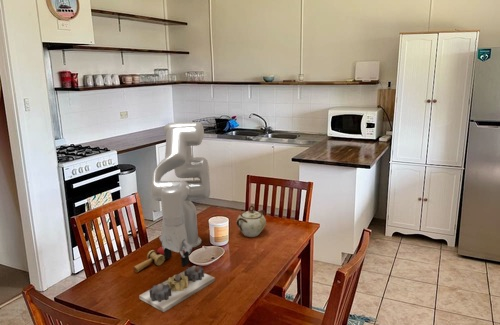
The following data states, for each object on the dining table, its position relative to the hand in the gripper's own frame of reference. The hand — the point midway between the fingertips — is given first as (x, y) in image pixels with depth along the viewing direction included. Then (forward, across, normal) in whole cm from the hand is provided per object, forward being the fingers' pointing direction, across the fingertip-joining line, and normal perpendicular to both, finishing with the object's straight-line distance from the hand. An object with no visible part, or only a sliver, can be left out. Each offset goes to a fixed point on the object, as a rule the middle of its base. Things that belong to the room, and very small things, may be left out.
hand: (176, 261), depth 151 cm
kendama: (+12, -24, +6) cm, 28 cm away
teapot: (+13, -9, +57) cm, 60 cm away
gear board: (+12, +1, -1) cm, 12 cm away
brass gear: (+10, 0, -1) cm, 10 cm away
